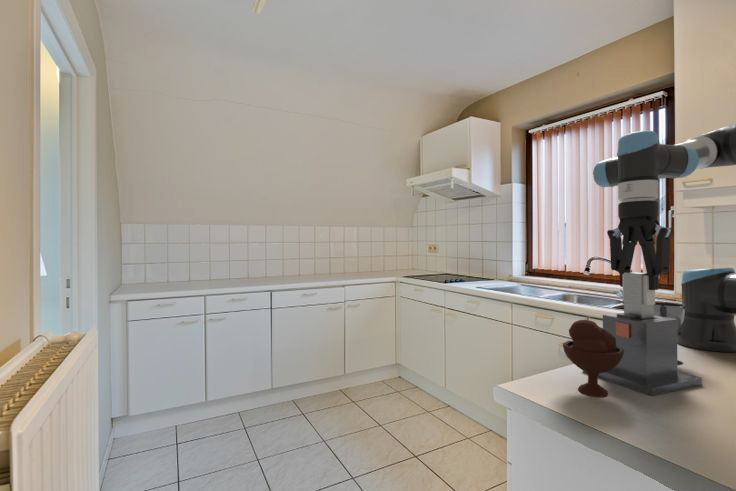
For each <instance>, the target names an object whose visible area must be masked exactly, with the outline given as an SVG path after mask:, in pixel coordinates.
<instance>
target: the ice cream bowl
mask: <svg viewBox="0 0 736 491" xmlns="http://www.w3.org/2000/svg"><path fill="white" fill-rule="evenodd" d="M568 334H569V335H568V336H569V337H570V338H571V340H567V341H565V342H563V343H562V348H563V351H564V354H565V356H566V357H567V359H569V361H571V363H572V364H574V365H575V366H576V367H578V368H579V369H580V370H581V371H583V370H584V371H586V372H587V373H586V372H585V373H586V374H587V382H585V383H583V384H580V385H579V386H578V388H577V390H578V391H579V392H580V393H581V394H584V395H586V396H589V397H596V398H603V397H607V396H608V395H609V392H608V390H607V389H606V388H605V387H603V386H601V385H600V384H599V382H598V381H599V380H598V378H599V377H598V375H599V373H605V372H608V371H610V370H611V369H613V368H614V367H615V366H617V365H618V364H619V363H620V361H621V359H622V357H623V354H624V349H622V348H620V347H618V346H616V338H615V337H614V336H613V335H612V334H611V333H609V332H608V331H607V330H605V329H603V327H601V326H599V325H598V324H597V323H596V322H594V321H592V320H588V319H579V320H576V321H574V322H573V323H571V326H570V327H569V329H568Z"/></svg>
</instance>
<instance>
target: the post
mask: <svg viewBox="0 0 736 491" xmlns="http://www.w3.org/2000/svg"><path fill="white" fill-rule="evenodd" d="M645 273H646V272H642V271H641V272H639V271H632V272H627V273H624V302H623V313H625V314H631V315H637V319H639V320H648V319H654V304H653V305H644V302H643V276H644V275H645Z"/></svg>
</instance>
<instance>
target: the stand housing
mask: <svg viewBox="0 0 736 491" xmlns="http://www.w3.org/2000/svg"><path fill="white" fill-rule="evenodd" d="M602 328H603V329H605V330H607V331H608V332H609V333H611V334H612V335H613V336H614V337H615V338H616V346H618V347H620V348H622V349H624V354H623V357H622V359H621V361H620V363H619V364H618V365H617V366H615V367H614V368H613V369H611V370H610V371H608V372H605V373H599V375H598V377H597V378H600V379H604V380H606V381H609V382H611V381H612V383H614V382H615V383H614V384H617V383H618V384H617V385H621V386H623V387H626V388H629V389H630V390H631V389H632V390H634V391H637V392H639V393H642V394H645V395H648V396H651V397H654V396H658V395H663V394H667V393H672V392H676V391H682V390H686V389H689V388H690V389H691V388H695V387H700V386H702V385H703V378H702V377H701V376H697V375H693V374H690V373H686V372H683V371H679V370H678V365H677V360H678V343H677V319H672V318H666V317H660V316H654V319H648V320H639V319H637V315H631V314H625V313H624V312H619V313H618V312H617V313H616V312H615V313H608V314H602ZM582 372H584V373H586V374H587V372H586V371H584V370H582Z"/></svg>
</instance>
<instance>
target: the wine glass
mask: <svg viewBox="0 0 736 491" xmlns="http://www.w3.org/2000/svg"><path fill="white" fill-rule="evenodd" d="M654 316H660V317H666V318H672V319H677V330H679V329H680V328H681V326H682V324H683V321H684V317H685V305H684V304H682V302H681V303H680V302H672V301H659V300H658V301H656V300H655V304H654ZM683 364H684V362H683V361H681V360H680V359H677V366H681V365H683Z"/></svg>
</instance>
